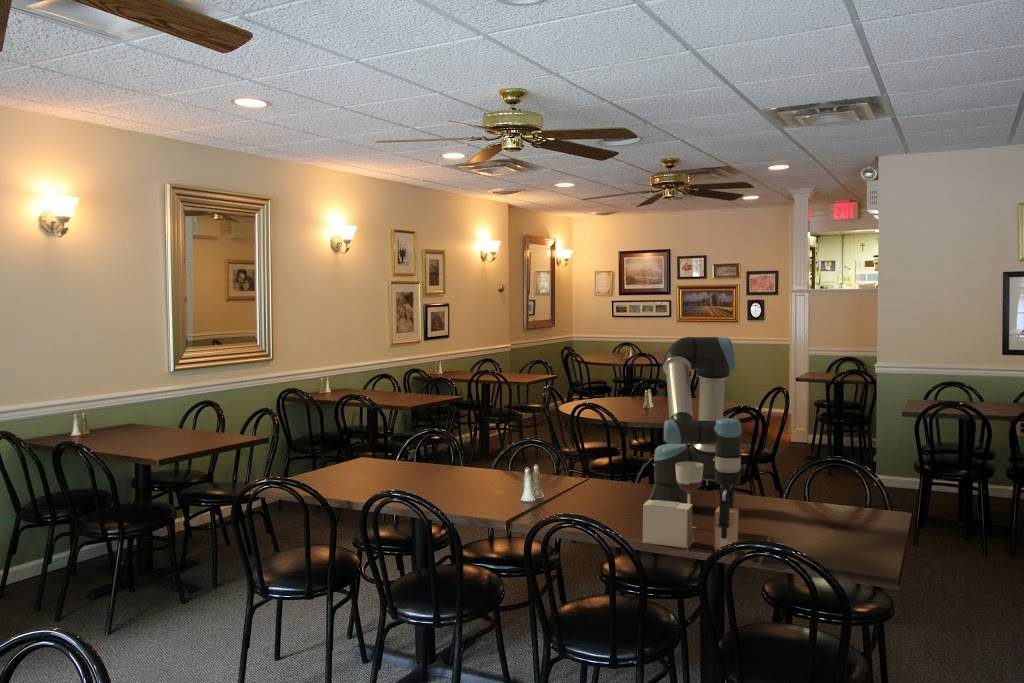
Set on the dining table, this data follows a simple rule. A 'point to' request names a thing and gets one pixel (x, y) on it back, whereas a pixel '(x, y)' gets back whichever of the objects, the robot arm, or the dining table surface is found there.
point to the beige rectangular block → (667, 523)
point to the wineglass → (689, 476)
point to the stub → (732, 527)
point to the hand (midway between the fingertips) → (726, 544)
